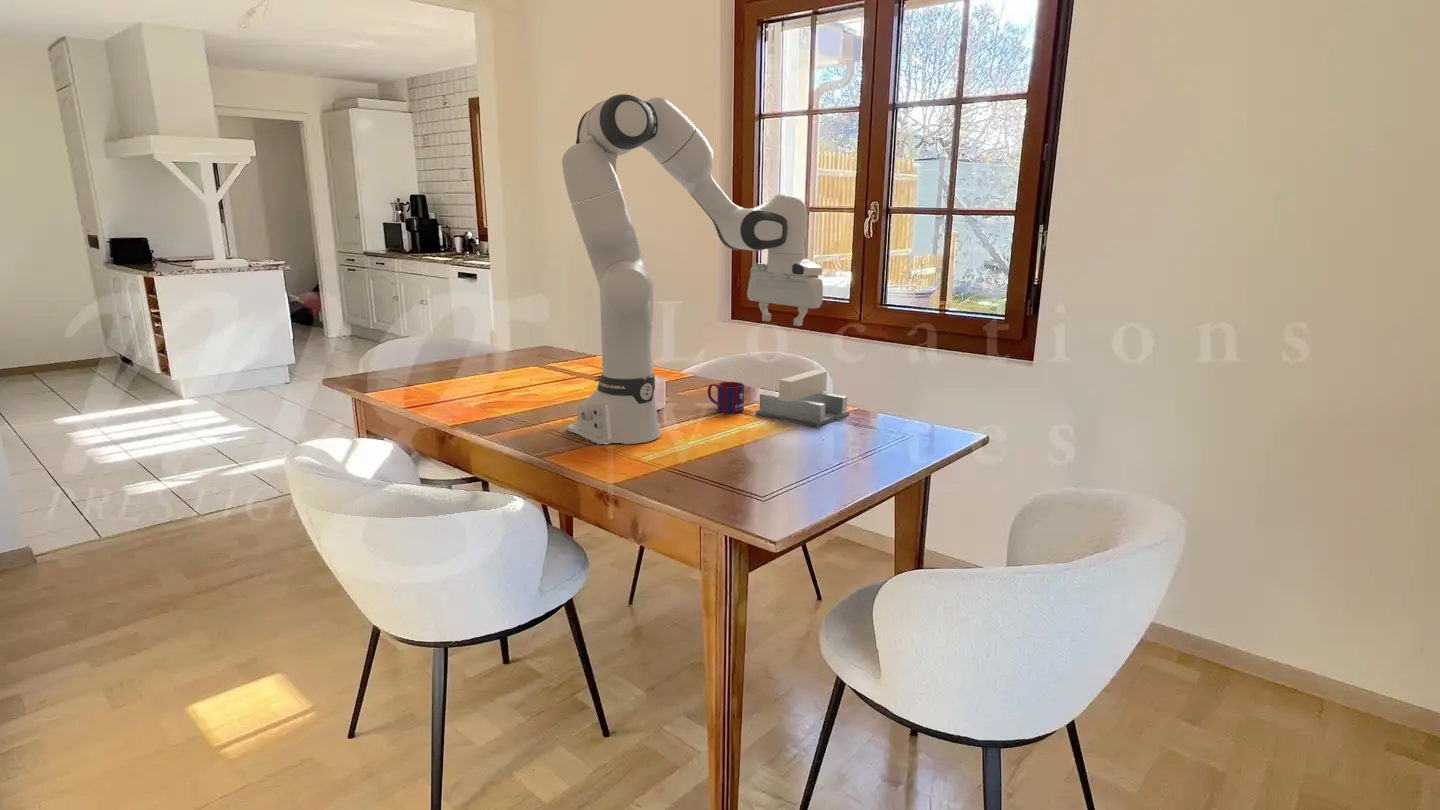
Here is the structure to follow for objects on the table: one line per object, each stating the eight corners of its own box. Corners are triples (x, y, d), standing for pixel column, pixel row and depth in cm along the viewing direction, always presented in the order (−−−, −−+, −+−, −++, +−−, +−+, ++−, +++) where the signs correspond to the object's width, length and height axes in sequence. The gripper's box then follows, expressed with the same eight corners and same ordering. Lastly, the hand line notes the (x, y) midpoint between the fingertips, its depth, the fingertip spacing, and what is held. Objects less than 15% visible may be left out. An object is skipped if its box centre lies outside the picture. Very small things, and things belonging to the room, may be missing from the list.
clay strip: (778, 399, 189) (779, 379, 188) (814, 388, 201) (815, 369, 200) (790, 402, 187) (791, 381, 186) (826, 390, 199) (826, 371, 198)
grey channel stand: (755, 414, 195) (756, 394, 194) (790, 403, 206) (790, 385, 205) (816, 427, 184) (817, 406, 183) (849, 414, 195) (850, 395, 194)
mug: (733, 415, 194) (733, 388, 193) (702, 408, 200) (702, 383, 199) (748, 410, 200) (749, 384, 198) (718, 404, 206) (718, 378, 204)
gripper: (743, 262, 190) (740, 319, 194) (813, 269, 178) (809, 329, 181) (759, 262, 195) (756, 317, 198) (828, 268, 182) (823, 327, 186)
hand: (781, 323), depth 190 cm, fingers open, 8 cm apart
